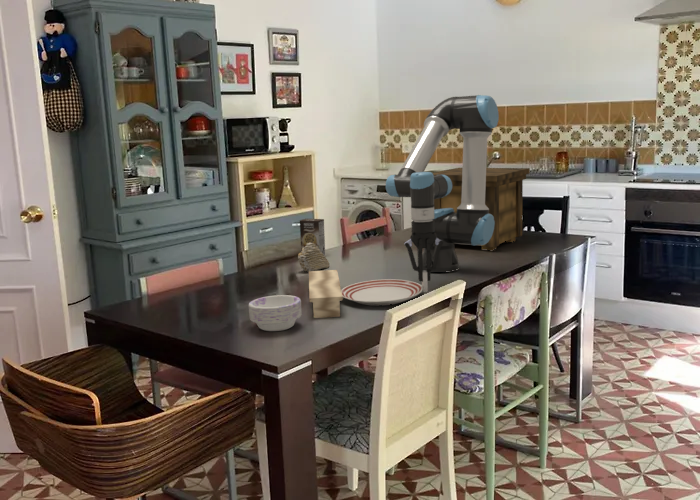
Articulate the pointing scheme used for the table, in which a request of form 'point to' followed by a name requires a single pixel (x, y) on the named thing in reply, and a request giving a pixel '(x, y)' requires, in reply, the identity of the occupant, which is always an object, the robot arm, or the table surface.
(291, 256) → the table surface
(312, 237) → the coffee box
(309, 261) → the fossil tooth
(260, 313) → the paper bowls
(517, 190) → the crate
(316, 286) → the long wooden block
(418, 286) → the dinner plate
